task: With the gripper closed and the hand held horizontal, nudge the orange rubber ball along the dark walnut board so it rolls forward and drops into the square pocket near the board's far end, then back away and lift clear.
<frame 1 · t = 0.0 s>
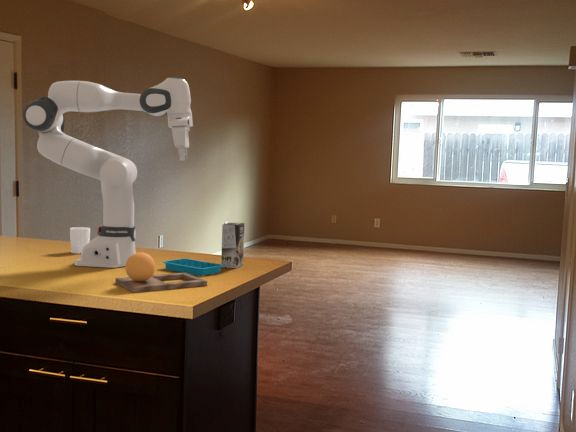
hand: (183, 160, 232), 39 cm above the worktop, tool pointing down, fingers open, 8 cm apart
ball: (140, 266, 195), point 6 cm above the worktop, touching walnut board
white cup: (80, 253, 257), on the worktop
coffee box: (232, 266, 237), on the worktop
ice cube tray: (192, 272, 225), on the worktop
walnut board: (161, 284, 199), on the worktop
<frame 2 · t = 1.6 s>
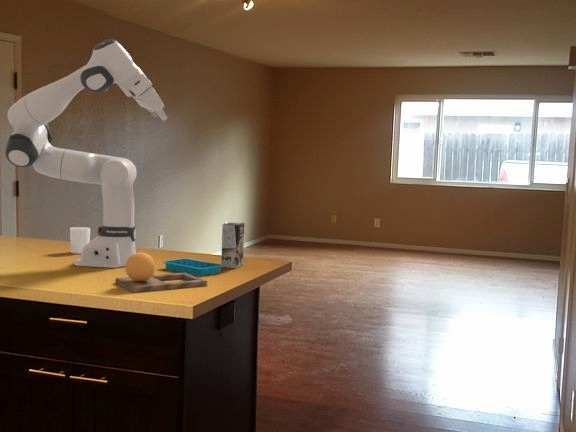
hand: (161, 117, 211), 53 cm above the worktop, tool tilted 45°, fingers open, 8 cm apart
nothing on the worktop moved.
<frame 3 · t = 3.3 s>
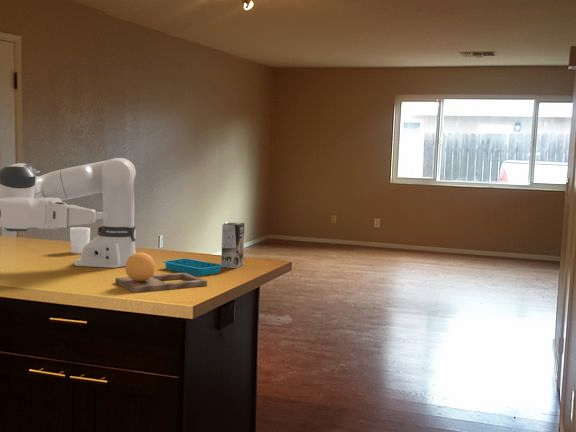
hand: (101, 213, 187), 23 cm above the worktop, tool horizontal, fingers open, 8 cm apart
nothing on the worktop moved.
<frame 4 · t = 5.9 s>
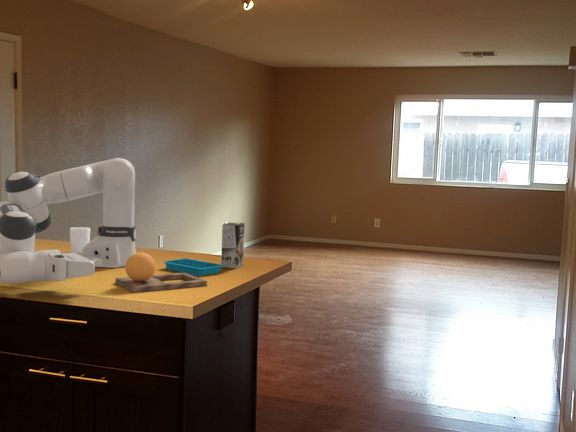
hand: (100, 261, 188), 8 cm above the worktop, tool horizontal, fingers closed
nothing on the worktop moved.
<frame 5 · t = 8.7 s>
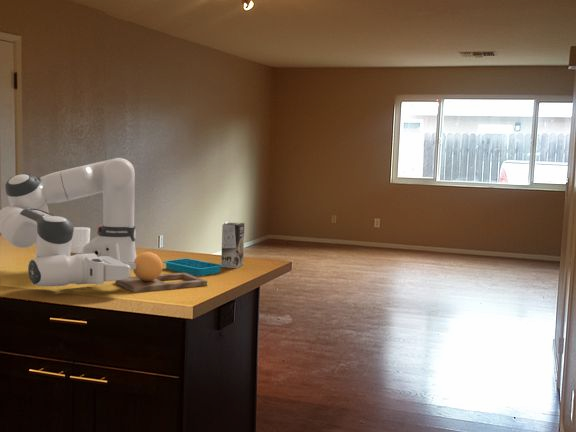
hand: (134, 265, 193), 7 cm above the worktop, tool horizontal, fingers closed
ball: (147, 266, 196), point 6 cm above the worktop, tilted 30°, touching gripper, walnut board
everything else where it was.
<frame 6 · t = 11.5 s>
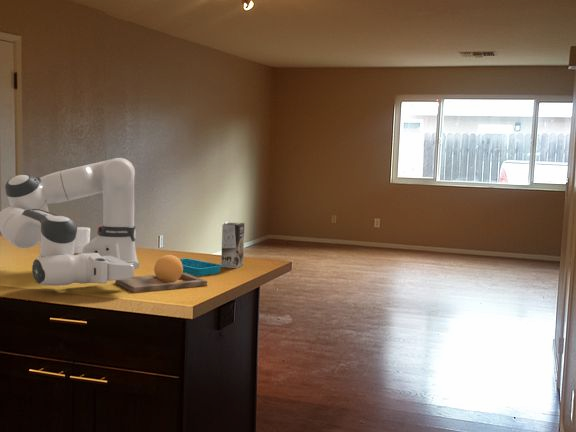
hand: (137, 264, 194), 7 cm above the worktop, tool horizontal, fingers closed
ball: (168, 268, 201), point 4 cm above the worktop, tilted 131°
everything else where it was.
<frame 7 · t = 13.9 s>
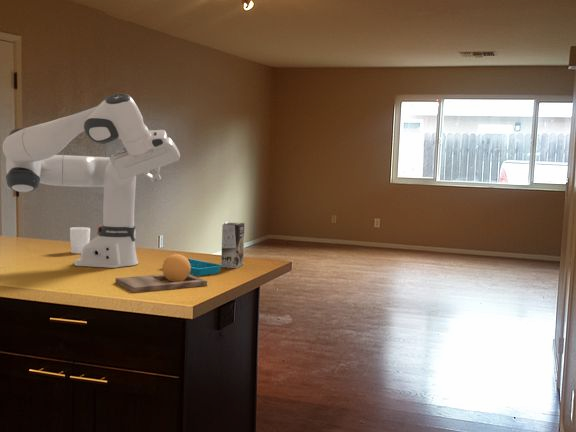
hand: (156, 180, 202), 32 cm above the worktop, tool tilted 35°, fingers closed
ball: (176, 268, 204), point 4 cm above the worktop, tilted 162°
everything else where it was.
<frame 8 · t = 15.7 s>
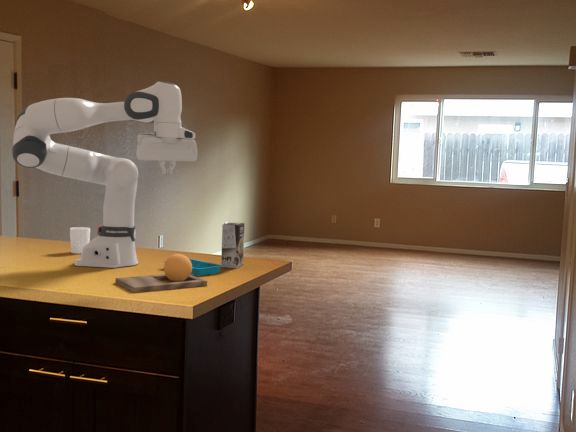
hand: (167, 175, 207), 34 cm above the worktop, tool pointing down, fingers closed
nothing on the worktop moved.
at the end: ball 2.6 cm from the target spot, point 4.5 cm above the worktop; ball touching worktop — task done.
